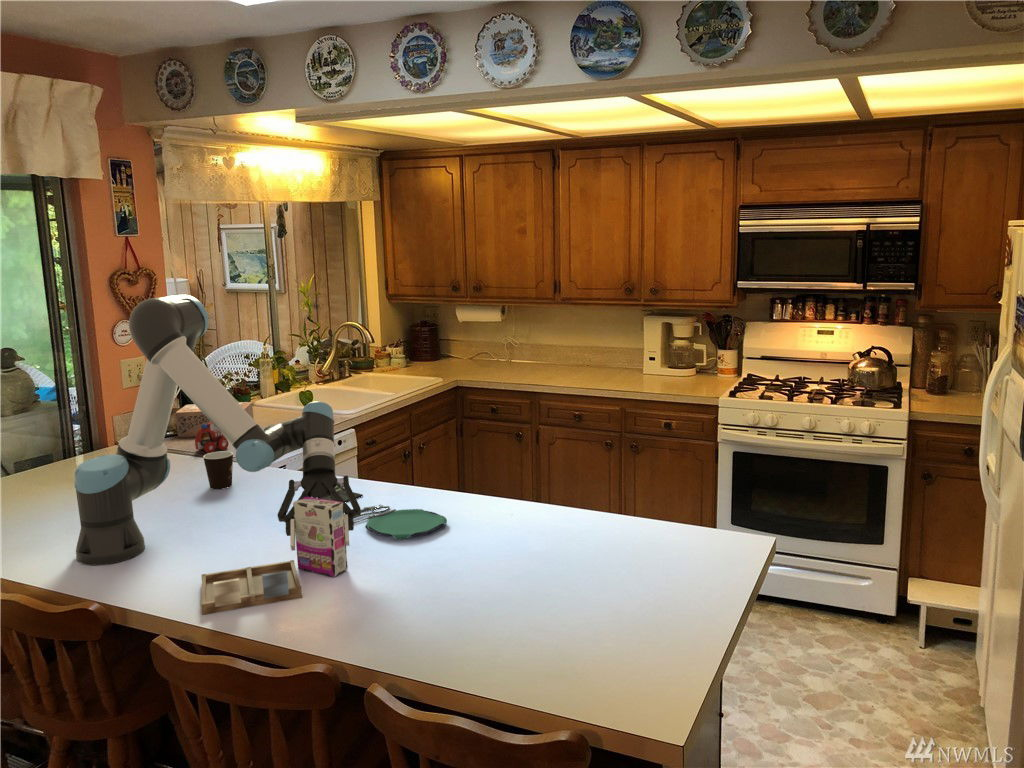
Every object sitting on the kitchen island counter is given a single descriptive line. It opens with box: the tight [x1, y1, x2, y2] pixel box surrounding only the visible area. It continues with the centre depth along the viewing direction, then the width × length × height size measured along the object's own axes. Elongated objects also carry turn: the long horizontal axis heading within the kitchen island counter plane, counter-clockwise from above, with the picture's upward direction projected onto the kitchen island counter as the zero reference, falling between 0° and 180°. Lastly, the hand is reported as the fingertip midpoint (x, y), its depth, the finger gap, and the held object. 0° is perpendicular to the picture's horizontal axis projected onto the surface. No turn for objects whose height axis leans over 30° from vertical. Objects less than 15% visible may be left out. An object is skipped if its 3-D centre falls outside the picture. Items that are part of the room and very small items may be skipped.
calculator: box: [318, 484, 363, 503], centre depth 235 cm, size 9×12×3 cm
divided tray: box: [200, 559, 303, 616], centre depth 174 cm, size 20×16×6 cm
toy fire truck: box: [194, 422, 230, 454], centre depth 290 cm, size 7×12×10 cm, turn 141°
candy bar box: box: [292, 497, 349, 578], centre depth 183 cm, size 11×5×16 cm, turn 62°
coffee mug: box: [202, 450, 234, 490], centre depth 248 cm, size 12×9×10 cm
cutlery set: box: [344, 504, 448, 540], centre depth 213 cm, size 20×30×2 cm, turn 46°
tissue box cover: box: [175, 401, 255, 438], centre depth 318 cm, size 26×14×10 cm, turn 96°
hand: (320, 545), depth 180 cm, fingers closed on candy bar box, 11 cm apart
